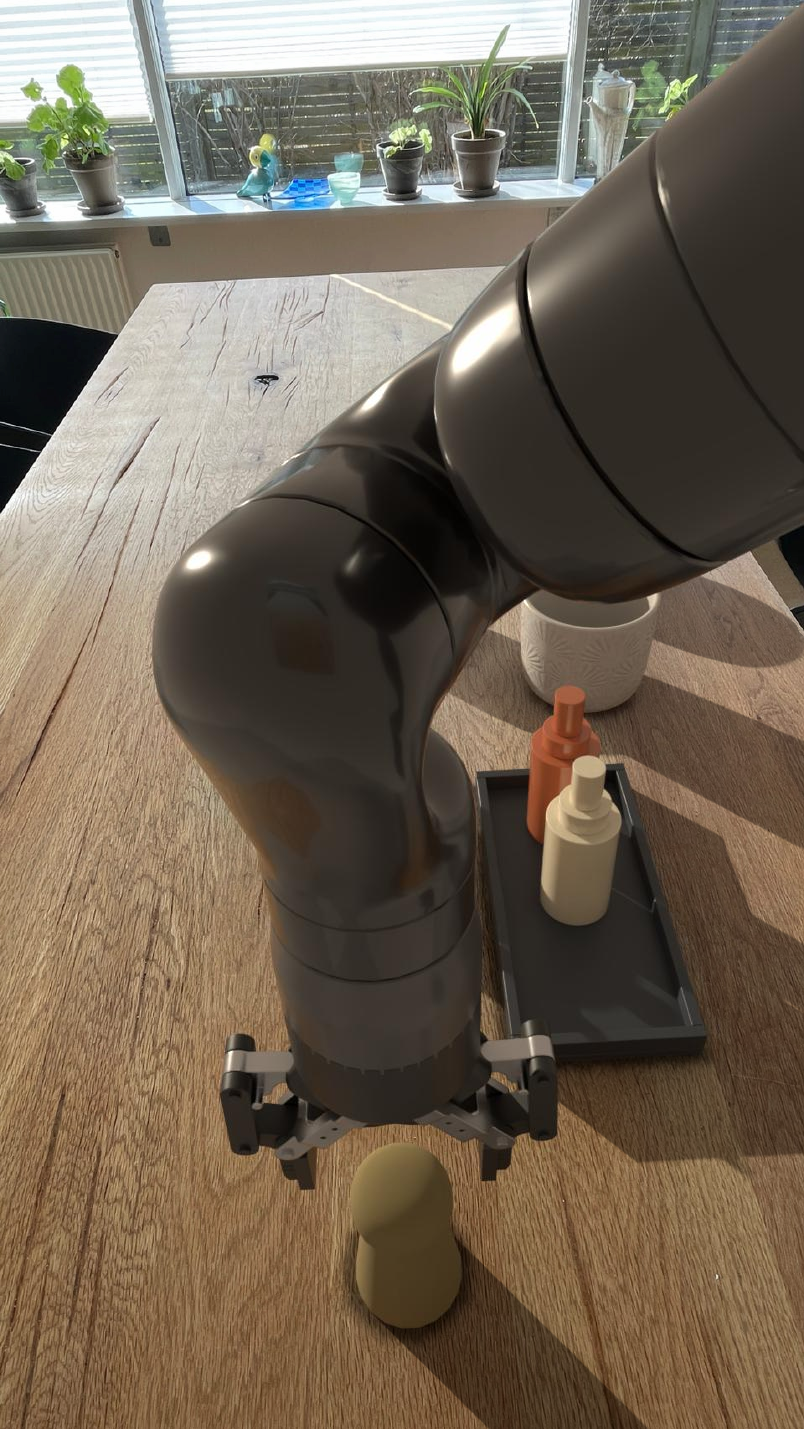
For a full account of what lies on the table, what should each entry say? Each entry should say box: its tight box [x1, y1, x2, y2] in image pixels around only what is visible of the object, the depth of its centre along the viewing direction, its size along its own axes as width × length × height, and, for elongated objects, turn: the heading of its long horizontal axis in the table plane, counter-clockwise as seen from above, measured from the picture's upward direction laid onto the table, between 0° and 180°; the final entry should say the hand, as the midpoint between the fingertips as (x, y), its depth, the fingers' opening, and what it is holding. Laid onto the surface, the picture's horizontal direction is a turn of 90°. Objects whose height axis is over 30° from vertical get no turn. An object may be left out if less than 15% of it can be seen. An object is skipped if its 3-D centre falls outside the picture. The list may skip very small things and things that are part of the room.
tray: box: [474, 762, 708, 1063], centre depth 72 cm, size 26×13×2 cm, turn 2°
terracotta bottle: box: [526, 686, 602, 845], centre depth 73 cm, size 5×5×14 cm
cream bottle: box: [540, 756, 622, 926], centre depth 67 cm, size 5×5×14 cm
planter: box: [520, 590, 662, 714], centre depth 89 cm, size 12×12×11 cm
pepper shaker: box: [349, 1141, 463, 1329], centre depth 50 cm, size 6×6×11 cm
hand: (398, 1165), depth 46 cm, fingers open, 8 cm apart
